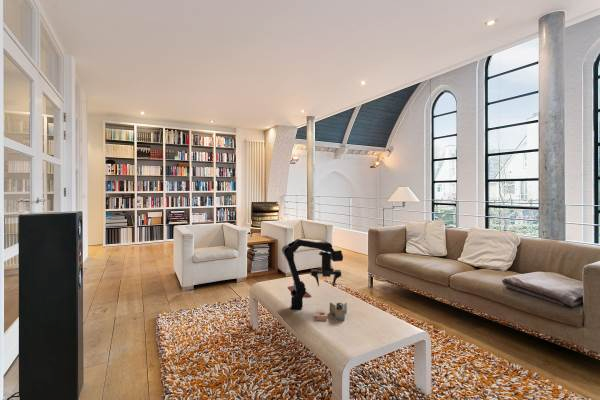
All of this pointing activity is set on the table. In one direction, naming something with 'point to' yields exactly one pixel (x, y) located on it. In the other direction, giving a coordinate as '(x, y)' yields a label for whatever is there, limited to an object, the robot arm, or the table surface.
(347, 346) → the table surface
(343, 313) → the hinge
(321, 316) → the pin holder
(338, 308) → the hinge pin
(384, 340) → the table surface
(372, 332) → the table surface
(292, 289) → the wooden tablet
